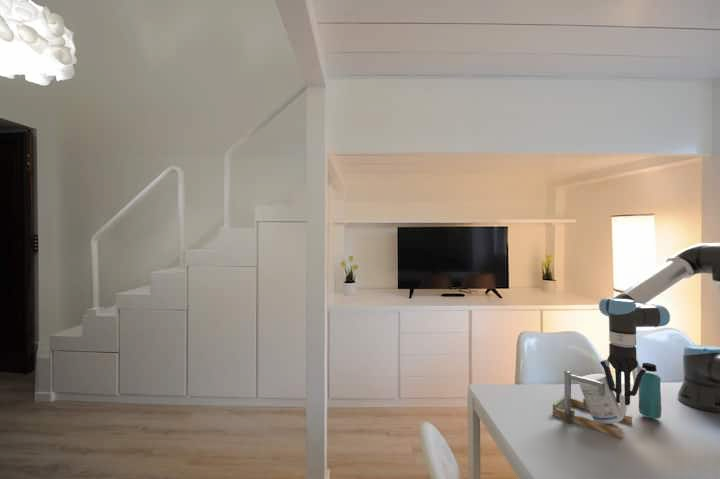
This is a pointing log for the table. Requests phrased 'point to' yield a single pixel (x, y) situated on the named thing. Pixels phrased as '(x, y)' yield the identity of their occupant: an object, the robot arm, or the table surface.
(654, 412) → the beverage bottle
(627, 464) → the table surface
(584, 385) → the supplement tub
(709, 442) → the table surface
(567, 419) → the hook post
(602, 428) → the bay board
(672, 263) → the robot arm
